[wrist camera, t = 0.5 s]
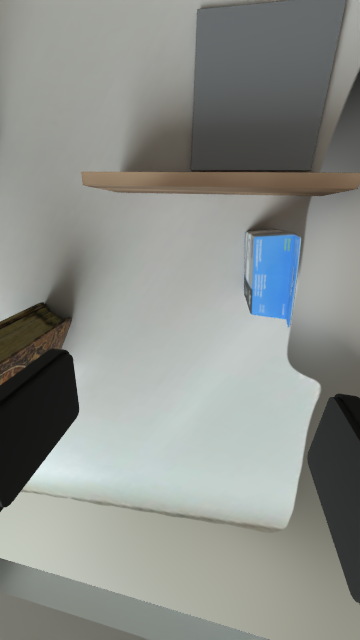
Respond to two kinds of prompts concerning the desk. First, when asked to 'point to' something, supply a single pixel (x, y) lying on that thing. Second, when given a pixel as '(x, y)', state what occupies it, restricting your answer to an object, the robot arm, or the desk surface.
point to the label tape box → (271, 272)
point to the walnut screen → (224, 182)
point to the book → (29, 338)
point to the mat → (262, 83)
